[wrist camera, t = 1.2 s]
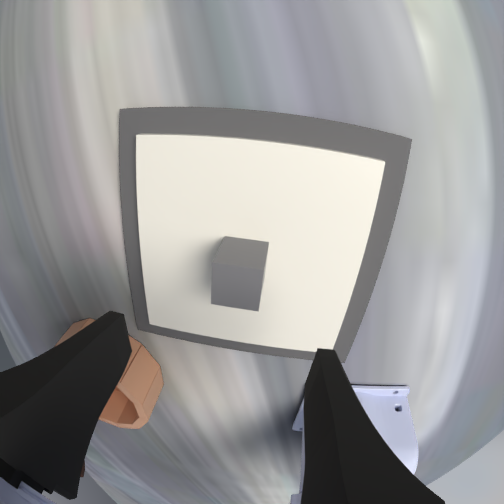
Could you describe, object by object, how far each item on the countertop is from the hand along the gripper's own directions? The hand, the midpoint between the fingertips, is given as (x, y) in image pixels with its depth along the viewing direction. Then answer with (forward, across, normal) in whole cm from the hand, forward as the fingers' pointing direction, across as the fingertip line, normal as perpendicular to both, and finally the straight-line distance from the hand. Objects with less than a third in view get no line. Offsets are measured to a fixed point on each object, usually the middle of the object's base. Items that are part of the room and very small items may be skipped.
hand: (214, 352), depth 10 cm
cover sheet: (+8, 0, 0) cm, 8 cm away
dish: (+8, +12, +14) cm, 20 cm away
